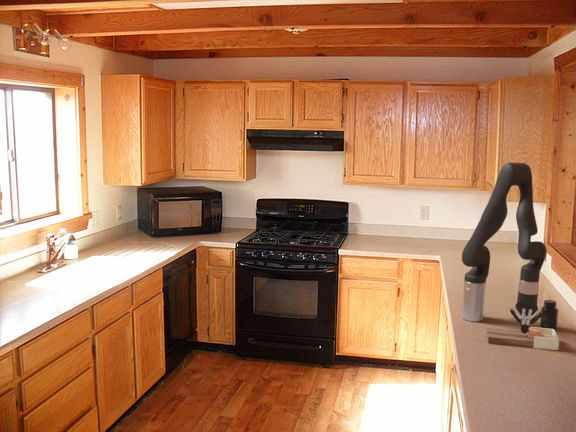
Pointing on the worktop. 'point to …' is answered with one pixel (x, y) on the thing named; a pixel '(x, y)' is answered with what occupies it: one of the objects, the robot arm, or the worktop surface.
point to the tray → (546, 339)
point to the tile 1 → (533, 333)
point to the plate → (508, 338)
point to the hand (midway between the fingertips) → (524, 333)
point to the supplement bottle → (549, 315)
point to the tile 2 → (547, 336)
